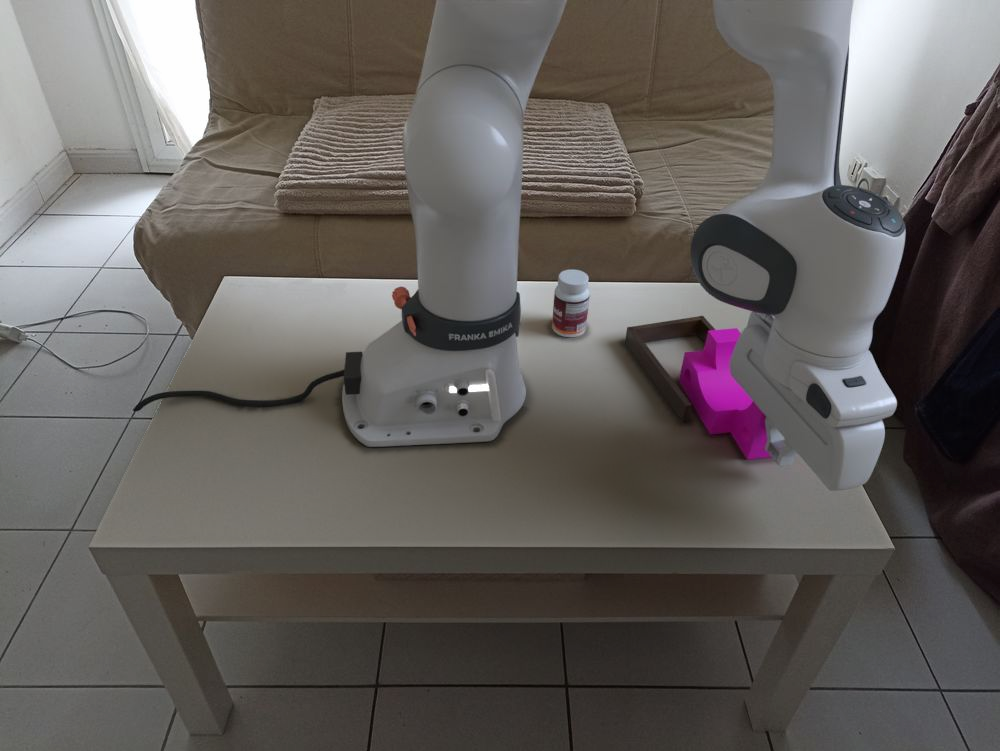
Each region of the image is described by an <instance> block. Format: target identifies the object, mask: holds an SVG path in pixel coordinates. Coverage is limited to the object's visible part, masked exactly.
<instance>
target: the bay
mask: <svg viewBox="0 0 1000 751" xmlns="http://www.w3.org/2000/svg"><path fill="white" fill-rule="evenodd" d="M709 330H716V328H715V327H714V326H713V325H712V324H711V323H710V321H708V320H707V318H706V317H705V316H704V315H697V316H692V317H691V316H690V317H686V318H679V319H673V320H672V319H671V320H666V321H659V322H652V323H647V324H646V323H645V324H640V325H633V326H627V327H626V334H625V338H624V343H625V344H626V346H627V347H628V349H629V350H630V351H631V352H632V354H633V355H634V357H635V358H636V360H637V361H638V362H639V364H640V365H641V366H642V368H643V369H644V371H645V372H646V374H647V375H648V376H649V377H650V379H651V381H653V383H654V384H655V386H656V387H657V389H658V390H659V391H660V392H661V394H662V395H663V397H664V398H665V399H666V401H667V402H668V404H669V405H670V406H671V408H672V409H673V411H674V412H675V413H676V415H677V416H678V418H679V419H680V420H681V422H687V421H689V418H690V414H691V411H692V407H693V404H692V402H691V401H690V400H689V398H687V397H686V395H685V394H684V392H683V391H682V389H680V387H679V386H678V385H677V383H676V382H675V381H674V379H673V378H672V376H670V374H669V373H668V371H667V370H666V369H665V367H664V366H663V365H662V363H661V362H660V360H658V358H657V357H656V356H655V354H654V353H653V352H652V350H651V348H649V346H648V345H647V343H651V342H656V341H661V340H669V339H675V338H681V337H688V336H694V335H697V336H698V337H699V338H700V339H701V340H702V342H704V344H705V343H706V338H707V334H708V331H709Z"/></svg>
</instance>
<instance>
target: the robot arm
mask: <svg viewBox="0 0 1000 751" xmlns="http://www.w3.org/2000/svg"><path fill="white" fill-rule="evenodd" d="M854 1H855V0H711V2H712V10H713V18H714V24H715V28H716V29H717V31H718V33H719V35H720V36H721V37H722V39H723V40H724V42H725V43H726V45H728V46H729V48H731V49H732V50H733V51H734V52H735V53H737V54H738V55H739V56H741V57H742V58H744V59H746V60H748V61H750V62H752V63H753V64H754V63H755V64H757V65H759V66H760V67H762V68H763V69H764V71H765V72H766V74H768V77H769V79H770V80H771V85H772V89H773V112H772V113H773V116H772V138H771V158H770V159H771V160H770V164H769V166H768V167H769V168H768V170H767V172H766V173H765V175H764V177H763V179H762V180H761V182H760V183H759V184H758V186H757V187H756V188H754V190H752V191H751V192H749V193H748V194H746V195H744V196H742V197H741V198H739V199H737V200H734V201H733V202H731V203H729V204H727V205H725V206H724V207H722V208H721V209H719V210H718V211H716V212H714V213H713V214H711V215H710V216H709V217H707V218H705V219H704V220H703V221H702V222H700V224H699V225H698V226H697V228H696V229H695V231H694V233H693V235H692V237H691V238H692V239H691V243H690V253H689V254H690V255H689V256H690V263H691V267H692V270H693V273H694V275H695V278H696V280H697V281H698V283H699V285H700V287H702V288H703V290H704V291H706V293H708V295H710V296H711V297H713V298H714V299H716V300H717V301H720V302H721V303H724V304H726V305H730V306H734V307H736V308H740V309H743V310H745V311H749V312H750V314H749V317H748V320H747V325H746V327H745V328H743V329H742V331H740V333H741V334H740V336H739V338H738V341H737V343H736V346H735V348H734V351H733V354H732V356H731V360H730V364H729V365H730V373H731V376H732V377H733V378H734V380H735V381H736V382H737V383H738V384H739V385H740V387H741V388H742V389H743V390H744V391H745V392H746V394H747V395H748V396H749V397H750V398H751V399H752V401H753V402H754V403H755V404H756V405H757V406H758V408H759V409H760V410H761V411H762V412H763V413H764V415H765V416H766V419H765V426H766V433H767V438H768V440H767V443H766V446H765V450H766V451H767V452H768V453H769V455H770V456H771V457H770V458H771V459H772V460H773V461H774V462H775V464H776V465H777V467H779V468H785V467H788V466H791V465H793V463H794V461H795V459H796V455H797V454H798V456H799V457H800V458H801V459H802V460H803V462H804V463H805V464H806V465H807V466H808V467H809V469H810V470H811V471H812V472H813V473H814V475H816V477H817V478H818V479H819V480H820V482H821V483H822V484H823V485H824V486H825V487H826V488H827V489H828V490H829V491H832V492H837V491H845V490H851V489H854V488H855V489H856V488H858V487H861V486H863V485H865V484H866V483H867V482H868V481H869V479H870V478H871V476H872V474H873V472H874V469H875V467H876V465H877V463H878V460H879V458H880V455H881V452H882V448H883V445H884V442H885V438H886V437H885V436H886V429H885V428H886V427H885V424H884V421H883V420H884V419H886V418H889V417H891V416H893V415H894V413H895V412H896V411H897V408H898V407H897V406H898V400H897V398H896V396H895V394H894V393H893V391H892V389H891V388H890V387H889V385H888V384H887V382H886V380H885V378H884V377H883V375H882V373H881V372H880V369H879V368H878V365H877V363H876V361H875V358H874V356H873V354H872V352H871V351H870V350H869V349H870V347H871V344H872V340H873V333H874V330H873V328H874V324H875V321H876V319H877V317H878V316H880V315H881V313H882V312H883V311H884V310H885V307H886V306H887V303H888V301H889V298H890V296H891V293H892V291H893V288H894V285H895V282H896V279H897V276H898V273H899V269H900V265H901V262H902V258H903V255H904V249H905V244H906V234H907V232H906V230H907V229H906V223H905V220H904V218H903V215H902V214H901V212H900V211H899V209H898V208H897V207H896V206H894V205H893V203H892V202H890V201H889V200H888V199H886V198H885V197H884V196H882V195H880V194H878V193H876V192H874V191H872V190H869V189H866V188H863V187H858V186H854V185H845V184H842V181H841V173H840V153H841V144H842V136H843V135H842V134H843V124H844V115H845V106H846V94H847V87H848V86H847V85H848V74H849V60H850V36H851V24H852V13H853V7H854ZM567 2H568V0H436V1H435V5H434V11H433V16H432V21H431V24H430V31H429V34H428V40H427V44H426V49H425V53H424V58H423V63H422V66H421V72H420V76H419V80H418V83H417V86H416V91H415V94H414V97H413V99H412V102H411V106H410V109H409V112H408V114H407V118H406V120H405V122H404V126H403V131H402V138H401V148H402V158H403V166H404V175H405V181H406V190H407V196H408V202H409V208H410V214H411V219H412V222H413V223H412V224H413V230H414V237H415V251H416V271H417V289H416V291H415V293H414V294H413V295H412V296H411V294H410V291H409V290H408V289H407V287H405V286H398V287H395V288H394V289H393V291H392V292H391V293H392V294H391V297H392V300H393V304H394V306H395V307H396V308H397V309H399V310H401V320H400V321H399V322H397V323H396V324H395V325H394V326H392V327H391V328H389V329H388V330H386V331H385V332H383V333H382V334H380V335H379V336H378V337H377V338H375V339H373V340H372V341H370V342H369V343H368V344H367V345H366V347H365V349H364V350H363V351H346V352H345V358H344V369H342V370H337V371H335V372H331V373H328V374H324V375H322V376H319V377H318V378H316V379H314V380H312V381H311V382H310V383H309V384H308V386H307V387H306V388H305V390H304V391H303V392H302V393H300V394H298V395H295V396H291V397H288V398H283V399H273V400H271V399H269V400H263V399H262V400H261V399H260V400H259V399H256V400H255V399H241V398H235V397H231V396H228V395H225V394H222V393H218V392H213V391H210V390H171V391H164V392H159V393H155V394H152V395H149V396H147V397H146V398H144V399H142V400H141V401H139V402H138V403H137V404H136V405H134V407H133V409H132V412H139V411H141V410H142V409H143V408H145V407H146V406H147V405H149V404H151V403H153V402H156V401H158V400H162V399H168V398H184V397H186V398H187V397H188V398H189V397H204V398H211V399H214V400H218V401H221V402H224V403H228V404H230V405H235V406H246V407H279V406H285V405H290V404H295V403H297V402H300V401H303V400H305V399H306V398H307V397H308V396H310V395H311V393H312V391H314V388H316V387H317V386H318V385H321V384H323V383H325V382H328V381H332V380H334V379H338V378H339V379H340V378H341V377H343V385H342V390H341V391H342V392H341V404H342V412H343V416H344V420H345V422H346V425H347V428H348V429H349V431H350V433H351V434H352V435H353V437H354V438H355V439H356V440H357V441H358V442H360V443H361V444H362V445H364V446H365V447H369V448H373V447H374V448H378V447H380V448H381V447H382V448H383V447H401V446H402V447H403V446H422V445H424V446H425V445H444V444H445V445H447V444H466V443H486V442H487V443H488V442H491V441H493V440H495V439H497V437H498V436H499V434H500V433H501V430H502V428H503V426H504V424H505V423H506V422H508V421H509V420H511V418H512V417H514V416H515V415H516V414H517V413H518V412H519V411H520V410H521V408H523V405H524V403H525V401H526V397H527V388H526V383H525V381H524V378H523V375H522V371H521V366H520V360H519V350H518V340H517V338H518V337H519V335H520V326H521V319H522V304H521V293H520V292H519V291H518V271H519V270H518V269H519V268H518V266H519V243H520V241H519V240H520V224H521V223H520V222H521V206H522V189H523V188H522V187H523V169H524V168H523V167H524V145H525V144H524V126H525V125H524V123H525V114H526V110H527V105H528V100H529V97H530V94H531V92H532V89H533V86H534V84H535V81H536V78H537V76H538V73H539V70H540V68H541V66H542V63H543V60H544V59H545V56H546V54H547V51H548V48H549V47H550V44H551V41H552V39H553V38H554V34H555V32H556V30H557V28H558V27H559V26H560V22H561V21H562V17H563V14H564V11H565V8H566V5H567Z"/></svg>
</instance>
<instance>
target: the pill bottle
mask: <svg viewBox="0 0 1000 751" xmlns="http://www.w3.org/2000/svg"><path fill="white" fill-rule="evenodd" d="M589 280H590V278H589V275H588V274H587V273H586V272H584V271H583V270H579V269H572V268H571V269H570V268H569V269H565V270H562V271H561V272H560V273H559V274H558V279H557V285H556V286H555V288H554V294H553V306H552V318H551V319H552V320H551V329H552V330H553V332H554V333H555V334H557V335H558V336H560V337H564V338H577V337H580V336H582V335H583V334H584V333H586V329H587V323H588V322H587V321H588V314H589V305H590V298H591V291H590V288H589Z"/></svg>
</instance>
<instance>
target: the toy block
mask: <svg viewBox="0 0 1000 751" xmlns="http://www.w3.org/2000/svg"><path fill="white" fill-rule="evenodd" d="M740 334H741V331H740V330H739V329H738V327H733V328H723V329H715V330H709V331H708V334H707V338H706V343H705V342H704V347H703V349H702V350H694V351H685V352H683V359H682V363H681V367H680V373H679V377H678V382H679V384H680V385H681V387H682V389H683V390H684V392H685V394H686V396H687V397H688V400H689V402H690V403H691V405H692V407H693V408H694V410H695V411H696V413H697V414H698V416H699V418H700V419H701V421H702V423H703V425H704V426H705V428H706V430H707V431H708V433H709V435H719V434H727V433H728V434H729V433H730V435H731V436H732V438H733V439H734V441H735V442H736V444H737V445H738V447H739V449H740V450H741V452H742V453H743V455H744V457H745V459H746V460H758V459H765V458H772V457H771V456H770V455H769V453H768V452H767V451H766V450H765V446H766V443H767V440H768V438H767V433H766V426H765V419H766V416H765V415H764V413H763V412H762V411H761V410H760V409H759V408H758V406H757V405H756V404H755V403H754V402H753V401H752V399H751V398H750V397H749V396H748V395H747V394H746V392H745V391H744V390H743V389H742V388H741V387H740V385H739V384H738V383H737V382H736V381H735V380H734V378H733V377H732V376H731V373H730V365H729V364H730V360H731V356H732V354H733V351H734V348H735V346H736V343H737V341H738V338H739V336H740Z"/></svg>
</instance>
